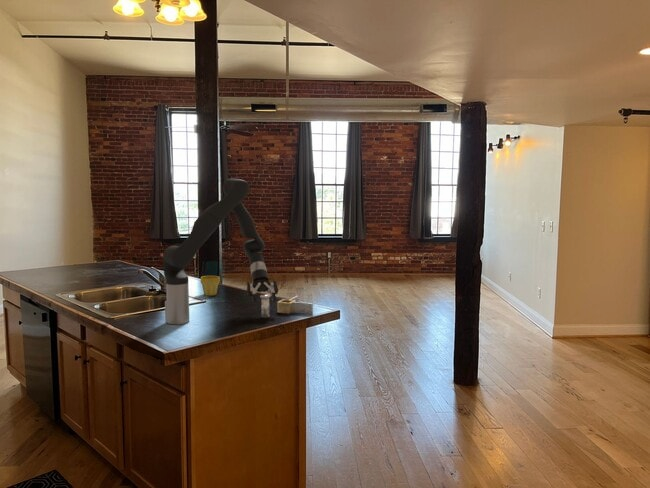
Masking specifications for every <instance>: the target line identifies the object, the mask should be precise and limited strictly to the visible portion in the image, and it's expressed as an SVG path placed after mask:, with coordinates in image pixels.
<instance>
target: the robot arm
mask: <svg viewBox="0 0 650 488" xmlns="http://www.w3.org/2000/svg"><path fill="white" fill-rule="evenodd" d="M222 190H223V194H224V197H223V198H221V200H218V201H217V202H215V203H213V204H212V205H210V206H208V207H207V208H205V209H204V210H203V211H202V212H201V213H200V215H199V216H198V217H196V219H195V222H194V223H193V225H192V228H191V232H190V234H189V235H188V237H187V238H186V239H185V240H184V241H183V242H182V243H181V244H180V245H179V246H178V245H170V246H168V247H167V248H165V250H164V251H163V255H162V263H163V264H162V266H163V275H164V278H165V284H166V285H165V288H166V300H165V301H164V314H165V315H164V318H165V320H164V321H165V323H166V324H170V325H184V324H188V323H189V322H190V294H189V293H190V291H189V276H188V274H187V273H186V271H185V268H186V267H187V266H188V265H189V264H190V263H191V261H193V259H194V257H195V256H196V254H197V253H198V251H199V250H200V248H201V247H202V246H203V245H204V244H205V242H206V241H208V239H209V238H210V236H212V234H213V233H214V232H215V231H216V230H217V229H218V228H219V226H220V225H221V224H222V223H223V221H224V220H225V219H226V218H227V217H228V216H229V214H230V213H231V212H232V211H233V213H234V214H235V215H234V216H235V218H236V220H237V223H238V225H239V229H240V232H241V234H242V237H244V239H249V240H246V241H244V242H243V244H242V250H243V251H244V253H245V254H246V256H247V259H248V260H249V266H250V267H249V268H250V275H251V280H252V283H250V282H247V283H246V295H247V297H251V299H252V300H251V301H252V303H254V304H257V302H258V301H257V296H256V295H257V293H258V292H259V293H266V292H267V294H270V295H271V301H272V303H275V301H276V299H277V297H276V295H278V294H279V287H278V284H277V281H276V280H273V282H270V280H269V276H268V274H269V273H268V270H267V266H266V263H265V258H264V255H263V254H262V253H261V252H263V251H265V247H266V245H265V242H264V240H263V239H262V238H261V236H260V234H259V233H258V231H257V229H256V228H257V227H256V226H255V221H254V219H253V217H252V216H251V214H250V212H249V211H248V210H247V208H246V207H245V206H244V203H243V200H244V199H245V198H246V197H247V195H248V194H249V191H250V185H249V183H248V182H247V181H246V180H244V179H240V178H228V179H225V180H224V182H223V184H222ZM252 288H254V289H253V291H251V289H252Z"/></svg>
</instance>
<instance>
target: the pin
mask: <svg viewBox="0 0 650 488" xmlns="http://www.w3.org/2000/svg"><path fill="white" fill-rule="evenodd" d="M259 298H260V301H261V302H260V303H261V307H260V308H261V318H264V319H265V318H266V319H267V318H270V299H271V298H272V295H271V294H270V293H262V294H260V295H259Z"/></svg>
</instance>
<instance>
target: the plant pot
mask: <svg viewBox="0 0 650 488" xmlns="http://www.w3.org/2000/svg"><path fill="white" fill-rule="evenodd" d="M220 280H221V278H220V276H218V275H203V276H201V277H200V284H201V286H202V290H203V295H204V296H215V295H217V292H218V289H219V284H220V283H221V281H220Z"/></svg>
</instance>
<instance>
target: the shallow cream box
mask: <svg viewBox="0 0 650 488" xmlns="http://www.w3.org/2000/svg"><path fill="white" fill-rule="evenodd" d="M313 308H314V303H311V302H302V301H299V295H295V296H294V297H292V298H289V299H280V300H279V301H277V302H276V312H277V314H286V313H287V315H290V313H291V314H293V313H294V314H303V313H304V315H313V314H314V309H313Z"/></svg>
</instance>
